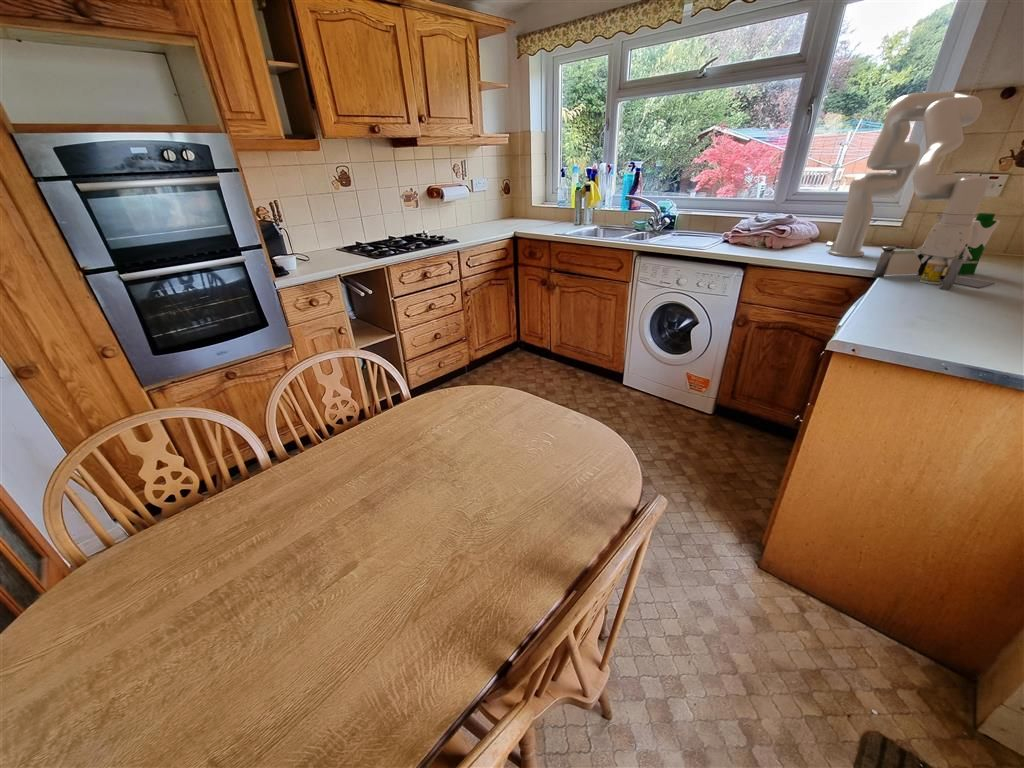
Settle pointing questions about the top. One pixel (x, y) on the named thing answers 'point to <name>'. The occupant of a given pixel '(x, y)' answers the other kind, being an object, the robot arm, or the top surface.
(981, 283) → the mat
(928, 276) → the supplement bottle
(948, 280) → the post
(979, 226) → the milk carton
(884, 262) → the hinge post
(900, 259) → the gate
